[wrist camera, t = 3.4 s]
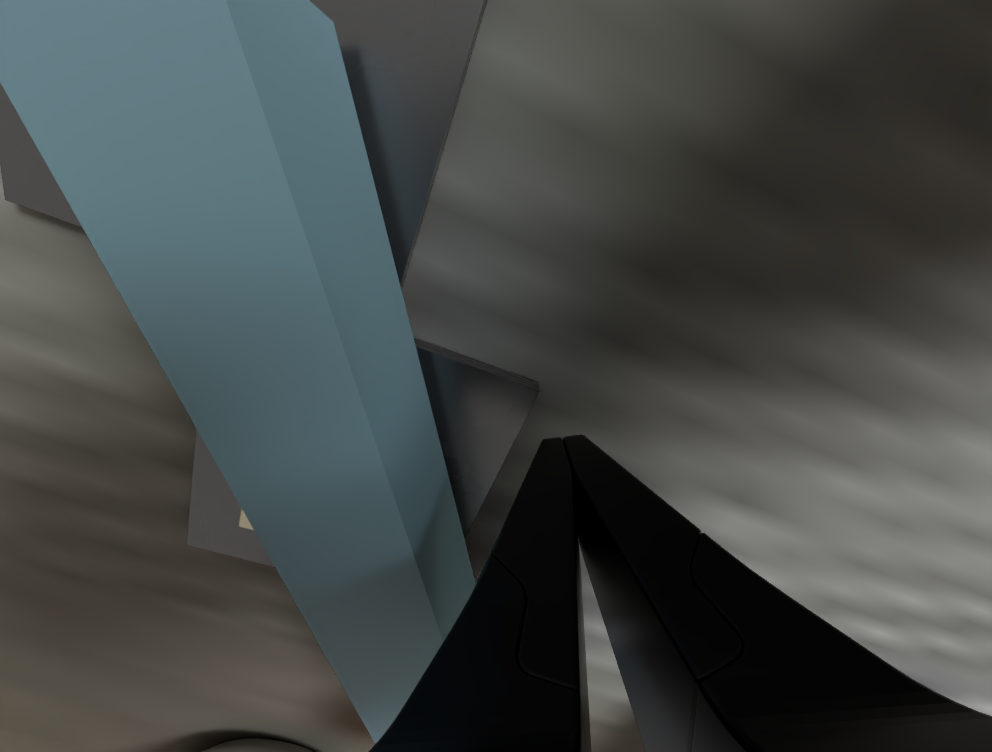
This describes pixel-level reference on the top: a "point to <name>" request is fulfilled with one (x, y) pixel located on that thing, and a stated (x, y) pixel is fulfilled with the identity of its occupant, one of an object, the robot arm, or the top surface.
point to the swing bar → (261, 296)
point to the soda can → (257, 746)
